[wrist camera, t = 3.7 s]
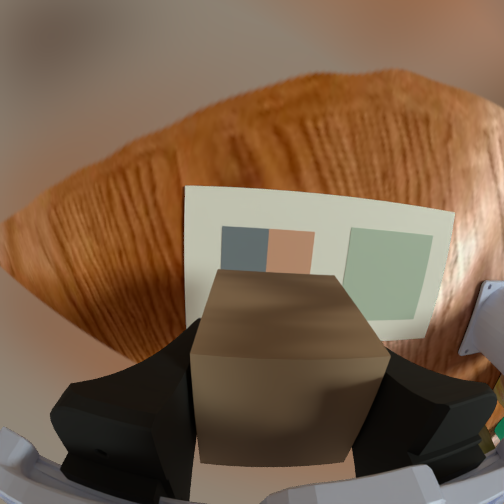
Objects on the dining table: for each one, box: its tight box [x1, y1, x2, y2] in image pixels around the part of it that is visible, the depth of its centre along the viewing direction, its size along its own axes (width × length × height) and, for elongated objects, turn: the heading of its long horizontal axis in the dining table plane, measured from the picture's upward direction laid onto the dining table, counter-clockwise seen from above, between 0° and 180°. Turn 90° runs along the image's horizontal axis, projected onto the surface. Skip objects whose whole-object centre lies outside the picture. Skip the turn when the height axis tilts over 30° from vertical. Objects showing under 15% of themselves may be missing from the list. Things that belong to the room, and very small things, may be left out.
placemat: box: [184, 186, 455, 341], centre depth 20 cm, size 20×11×1 cm, turn 87°
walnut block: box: [190, 269, 391, 467], centre depth 10 cm, size 5×5×6 cm
